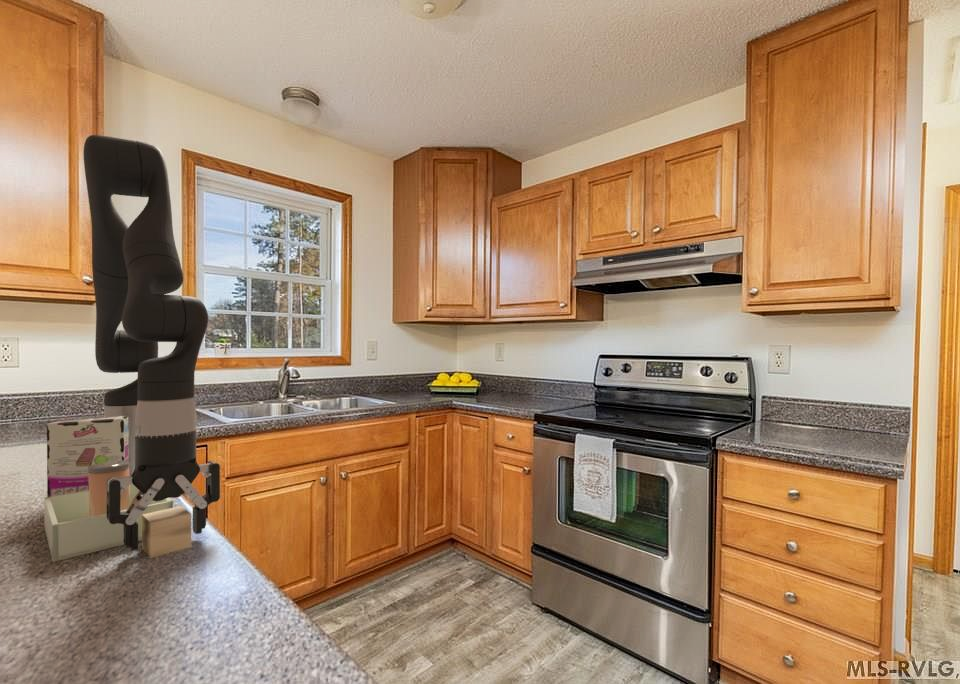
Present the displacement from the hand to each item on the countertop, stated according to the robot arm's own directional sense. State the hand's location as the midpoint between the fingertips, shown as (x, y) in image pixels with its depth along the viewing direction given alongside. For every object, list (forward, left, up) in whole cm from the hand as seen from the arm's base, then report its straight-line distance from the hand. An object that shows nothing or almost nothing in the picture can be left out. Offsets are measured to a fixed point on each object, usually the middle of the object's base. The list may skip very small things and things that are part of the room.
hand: (166, 540), depth 69 cm
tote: (-9, -12, -1) cm, 15 cm away
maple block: (0, 0, -1) cm, 1 cm away
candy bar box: (-22, -22, -1) cm, 31 cm away
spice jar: (-6, -10, 0) cm, 12 cm away
